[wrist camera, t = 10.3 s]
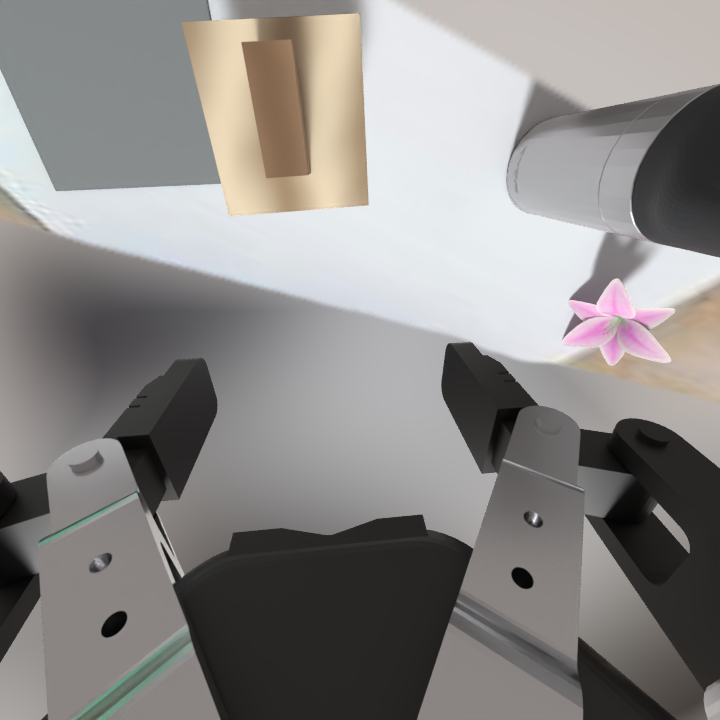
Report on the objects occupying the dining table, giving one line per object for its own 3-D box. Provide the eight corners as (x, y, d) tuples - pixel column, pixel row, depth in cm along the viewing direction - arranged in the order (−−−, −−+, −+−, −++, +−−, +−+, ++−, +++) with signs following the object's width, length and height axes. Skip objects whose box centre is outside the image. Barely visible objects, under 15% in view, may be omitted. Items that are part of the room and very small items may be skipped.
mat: (204, -12, 27) (203, -15, 26) (242, 182, 34) (241, 182, 34) (-32, -11, 26) (-38, -13, 25) (59, 190, 33) (55, 191, 32)
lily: (593, 250, 43) (603, 289, 37) (690, 278, 41) (718, 324, 35) (543, 320, 52) (544, 360, 45) (621, 345, 50) (634, 391, 44)
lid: (358, 19, 22) (372, -38, 16) (367, 203, 27) (379, 214, 21) (187, 28, 21) (133, -27, 15) (232, 214, 27) (206, 228, 21)
